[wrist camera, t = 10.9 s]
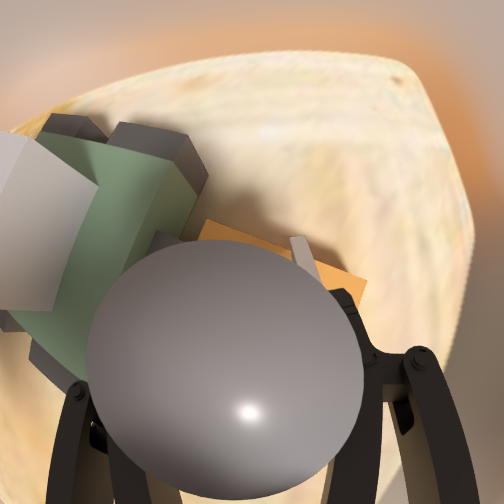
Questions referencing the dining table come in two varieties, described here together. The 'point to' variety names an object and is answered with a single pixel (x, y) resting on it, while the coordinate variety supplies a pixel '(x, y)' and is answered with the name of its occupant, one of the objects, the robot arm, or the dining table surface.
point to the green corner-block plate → (95, 227)
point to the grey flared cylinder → (224, 369)
